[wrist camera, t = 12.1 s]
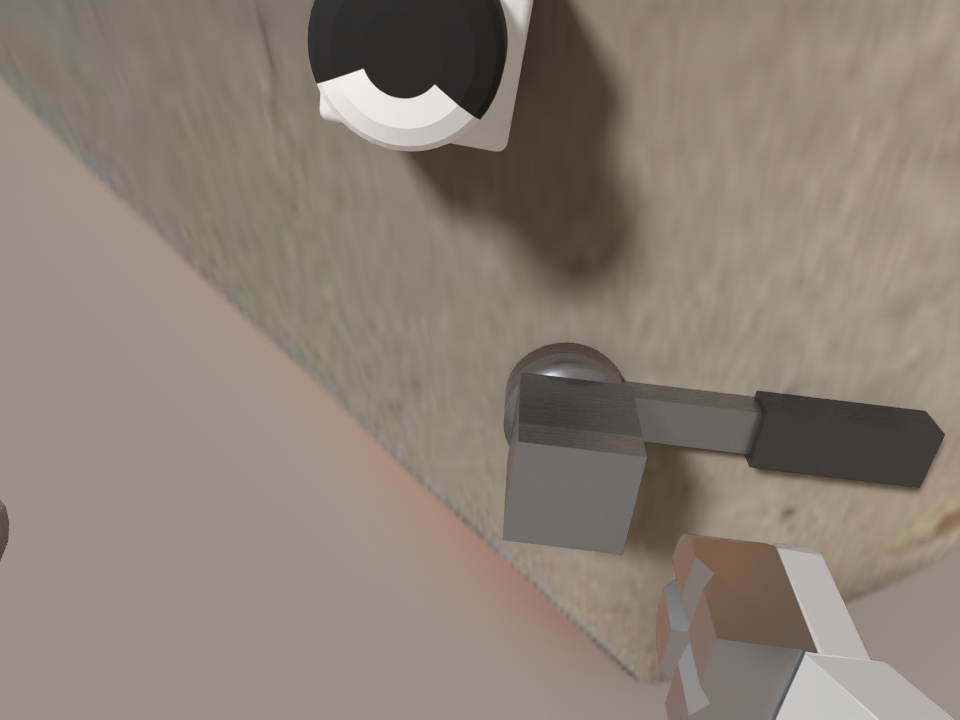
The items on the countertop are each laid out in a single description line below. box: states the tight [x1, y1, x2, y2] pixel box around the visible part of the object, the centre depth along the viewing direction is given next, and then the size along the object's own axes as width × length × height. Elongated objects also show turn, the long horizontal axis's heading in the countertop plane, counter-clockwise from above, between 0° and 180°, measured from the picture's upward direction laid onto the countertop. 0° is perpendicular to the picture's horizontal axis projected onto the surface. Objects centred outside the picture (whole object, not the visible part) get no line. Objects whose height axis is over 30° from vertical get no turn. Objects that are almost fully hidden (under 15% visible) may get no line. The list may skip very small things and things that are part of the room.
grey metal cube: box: [503, 372, 647, 555], centre depth 37 cm, size 6×6×6 cm
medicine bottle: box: [308, 0, 533, 152], centre depth 28 cm, size 7×7×12 cm
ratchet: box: [504, 343, 945, 488], centre depth 39 cm, size 22×6×7 cm, turn 84°
